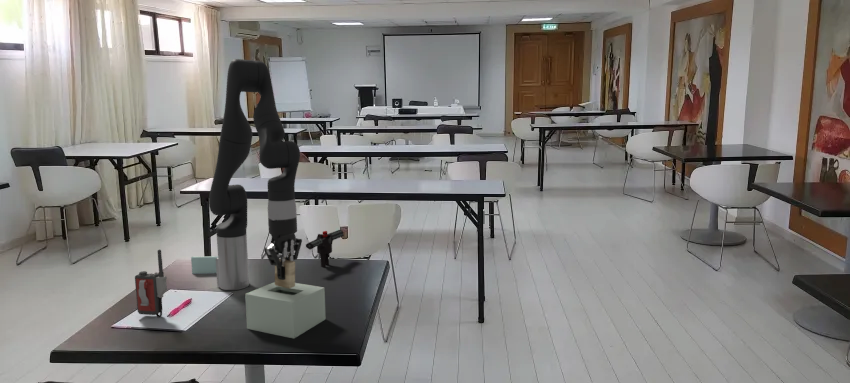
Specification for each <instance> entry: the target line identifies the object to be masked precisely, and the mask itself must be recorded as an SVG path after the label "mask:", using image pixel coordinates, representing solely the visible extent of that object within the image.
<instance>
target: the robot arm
mask: <svg viewBox="0 0 850 383" xmlns="http://www.w3.org/2000/svg"><path fill="white" fill-rule="evenodd" d="M226 77H227V78H226V88H225V89H226V90H225V92H226V93H225V102H224V103H225V104H224V105H225V106H224V113H223V119H222V125H221V129H220V130H221V131H220V136H219V143H218V150H217V157H216V158H217V159H216V165H215V171H214V174H213V178H212V181H211V182H212V183H211V185H210V190H209V196H208V206H209V210H210V212H211V213H212V214H213V215H214V216H227V215H230V216H229V218H227V220H225V221H224V222H222V223H221V224H219V225H218V226H217V227H216V233H215V234H216V245H217V246H216V247H217V256H218V258H216V272H217V273H216V284H217V285H216V286H217V287H218V288H219V289H222V290H224V291H236V290H242V289H245V288H247V287H248V286H249V285H250V279H249V278H250V276H249V258H248V256H249V255H248V239H247V238H248V236H247V229H248V228H247V227H248V195H247V191H246V189H245V188H244V186H243V185H242V184H230V182H231V179H232V177H233V176H234V174H236V172H237V171H238V169H240V167H241V166H242V165H243V164H244V163H245V161H246V160H247V158H248V156H249V154H250V152H251V147H252V140H253V130H252V126H251V124H250V123H249V121H248V118H247V117H246V115H245V113H244V111H243V109H242V105H241V100H240V99H241V92H242V93H243V92H244V93H258V94H259V96H260V99H259V101H258V103H257V105H256V107H255V109H254V110H253V116H252V118H253V124H254V127H255V130H256V133H257V136H258V139H259V140H258V141H259V142H258V143H259V152H258V158H259V163H260V165H262V166H263V167H264V168H265V169H269V170H272V169H273V170H274V169H284V170H283V172H282V173H281V174H280V175H277V176H274V177H270V178H269V179H268V181H267V198H268V199H267V220H268V222H267V225H268V234H269V235H270V236H271V240H270V245H269V246H268V247H267V246H266V247H264V249H263V250H264V254H265V255H266V257H267V260H268V261H269V263H270V265H271V266H274V267H275V266H277V277H278V279H280V280H285V260H290V261H296V260H298V257H299V254H300V251H301V246H302V242H303V239H302V238H297V237H296V233H297V232H298V221H297V220H298V219H297V216H298V215H297V204H296V197H295V196H296V194H295V192H296V191H295V183H296V176H297V171H298V167H299V163H300V158H301V150H300V147H299V145H298V144H297V143H296V142H295V141H292V140H286V141H283V139H285V136H286V132H285V129H284V126H283V124H282V120H281V118H280V116H279V113H278V109H277V106H276V101H275V100H276V99H275V94H274V88H273V83H272V78H271V75H270V71H269V68H268V66H267V64H266V63H265V62H263V61H260V60H251V59H243V58H242V59H241V58H234V59H232V60H231V61H230V63H229V65H228V70H227V75H226ZM279 259H281V262H280V260H279Z"/></svg>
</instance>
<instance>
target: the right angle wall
mask: <svg viewBox="0 0 850 383" xmlns="http://www.w3.org/2000/svg"><path fill="white" fill-rule="evenodd" d="M216 258H218V255H215V256H212V255H211V256H191V257H190V261H191V262H190V264H191V274H192V275H197V274H198V275H199V274H200V275H201V274H217V272H216Z"/></svg>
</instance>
